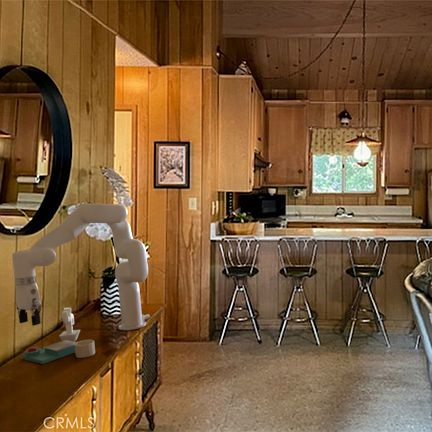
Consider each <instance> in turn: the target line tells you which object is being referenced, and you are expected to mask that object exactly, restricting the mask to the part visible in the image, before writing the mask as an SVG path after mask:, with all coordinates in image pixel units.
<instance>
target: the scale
mask: <svg viewBox="0 0 432 432" xmlns="http://www.w3.org/2000/svg"><path fill="white" fill-rule="evenodd" d="M22 359H23V360H24V361H28V362H33V363H37V364H41V365H43V364H46V363H50V362H52V361H55V360H57V359H59V358H58V355H54V354H50V353H46V352H45V350H44V349H43V348H41V347H37V351H34V352H29V351H28V349H26V350H25V351H24V353H23V355H22Z"/></svg>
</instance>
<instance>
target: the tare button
mask: <svg viewBox="0 0 432 432" xmlns="http://www.w3.org/2000/svg"><path fill="white" fill-rule="evenodd" d="M37 348H38V346H36V345H34V346H29V347H28V349H27V350H28V351H29V352H34V351H37Z"/></svg>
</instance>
